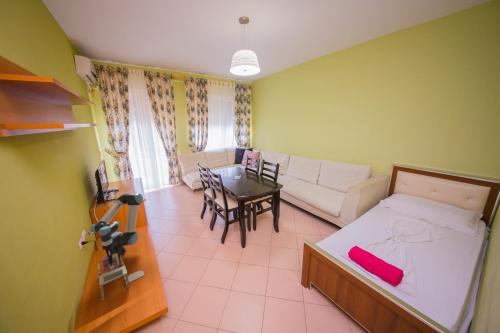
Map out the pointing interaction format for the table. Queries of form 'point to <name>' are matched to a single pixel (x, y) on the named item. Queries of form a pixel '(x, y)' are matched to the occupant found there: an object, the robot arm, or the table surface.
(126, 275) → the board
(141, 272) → the mat
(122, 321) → the table surface
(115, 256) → the box
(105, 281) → the cover
